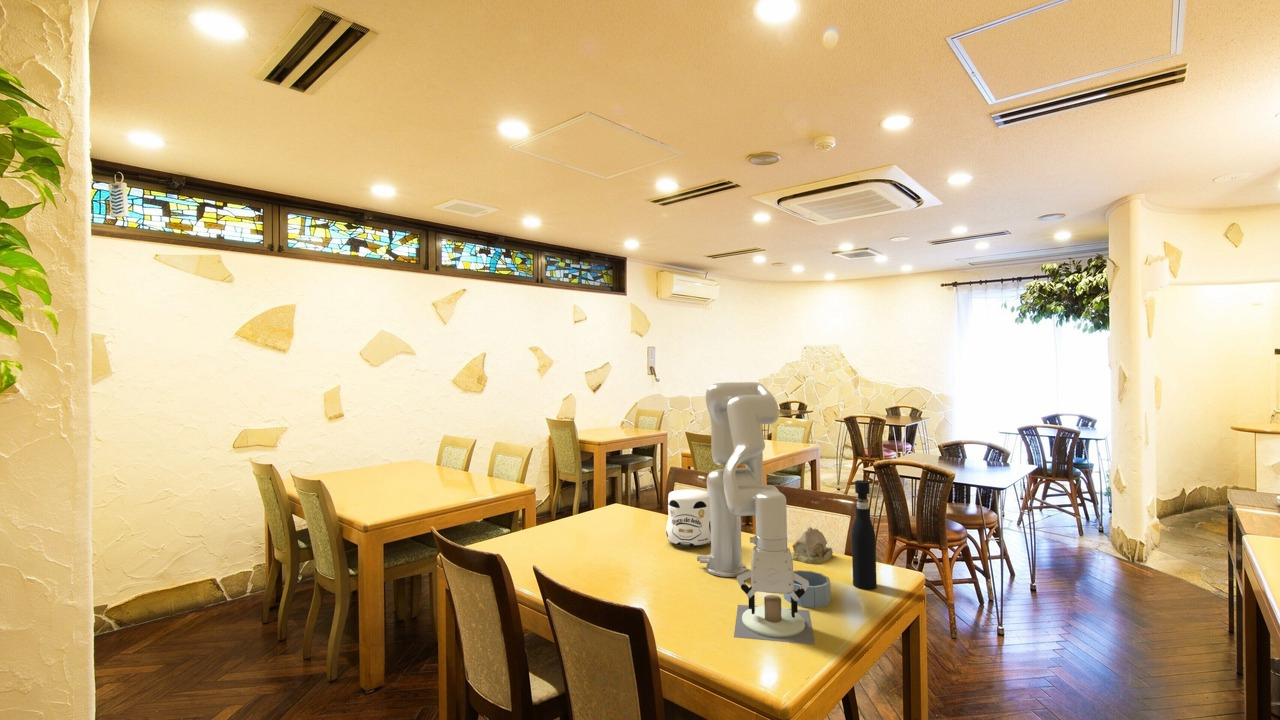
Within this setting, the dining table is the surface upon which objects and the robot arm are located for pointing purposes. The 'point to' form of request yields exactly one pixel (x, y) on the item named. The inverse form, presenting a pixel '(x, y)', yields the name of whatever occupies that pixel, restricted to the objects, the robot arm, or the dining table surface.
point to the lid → (773, 619)
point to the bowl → (812, 590)
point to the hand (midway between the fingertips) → (773, 613)
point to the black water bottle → (863, 542)
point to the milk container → (688, 518)
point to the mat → (803, 637)
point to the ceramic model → (811, 547)
